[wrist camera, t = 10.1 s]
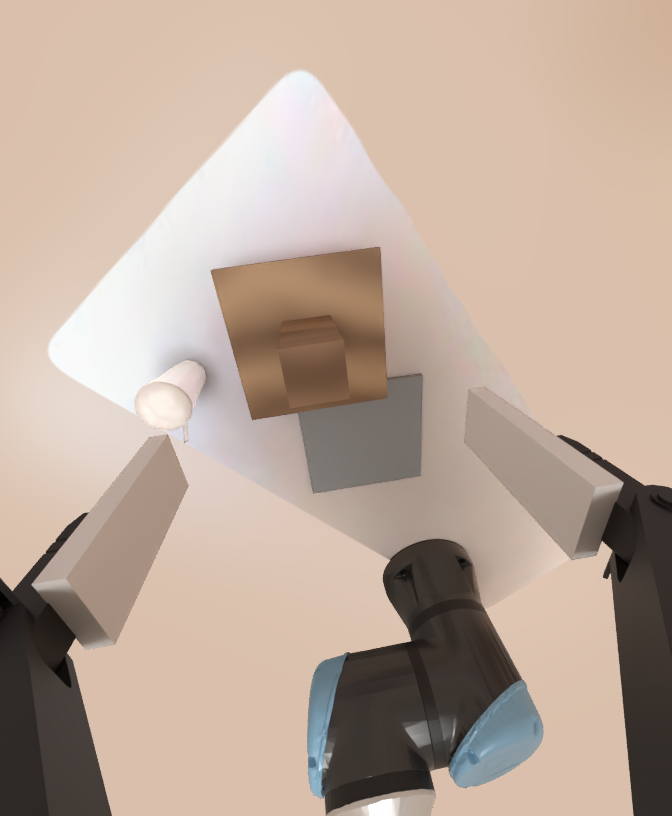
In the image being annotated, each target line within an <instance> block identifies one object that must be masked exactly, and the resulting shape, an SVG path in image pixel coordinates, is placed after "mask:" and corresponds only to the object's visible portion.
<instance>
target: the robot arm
mask: <svg viewBox="0 0 672 816" xmlns="http://www.w3.org/2000/svg"><path fill="white" fill-rule="evenodd" d="M464 442H465V443H466V444H467V445H468V446H469V447H470V449H471V450H472V451H473V452H474V453H475V454H476V455H477V456H478V457H479V458H480V460H481V461H482V462H483V463H484V464H485V465H486V466H487V467H488V468H489V469H490V471H491V472H492V473H493V474H494V475H495V476H496V477H497V478H498V479H499V480H500V482H501V483H502V484H503V485H504V486H505V487H506V488H507V489H508V490H509V492H510V493H511V494H512V495H513V496H514V497H515V498H516V499H517V500H518V501H519V503H520V504H521V505H522V506H523V507H524V508H525V509H526V510H527V511H528V512H529V514H530V515H531V516H532V517H533V518H534V519H535V520H536V521H537V522H538V523H539V525H540V526H541V527H542V528H543V529H544V530H545V531H546V532H547V533H548V534H549V536H550V537H551V538H552V539H553V540H554V541H555V542H556V543H557V544H558V545H559V547H560V548H561V549H562V550H563V551H564V552H565V553H566V554H567V555H568V556H569V558H570V559H571V560H575V559H581V558H586V557H591V556H596V555H597V552H598V550H599V547H600V544H601V542H602V541H603V542H604V543H605V544H606V545H607V546H608V547H609V548H611V549H612V550H613V551H612V554H611V556H610V559H609V561H608V564H607V566H606V569H605V571H604V575H603V578H606V579H608V577H609V574H610V573H611V579H612V589H613V600H614V611H615V621H616V632H617V643H618V653H619V664H620V675H621V685H622V696H623V707H624V717H625V728H626V737H627V749H628V760H629V771H630V781H631V792H632V803H633V813H634V816H672V488H669V487H665V486H657V485H647V486H644V485H643V484H641V483H640V482H638V481H637V480H635V479H634V478H632V477H631V476H629V475H628V474H626V473H625V472H623V471H621V470H620V469H619V468H617V467H616V466H614V465H613V464H611V463H610V462H608V461H607V460H603V459H602V457H600V456H599V455H597V454H596V453H594V452H591V450H590V449H588V448H587V447H585V446H584V445H582V444H581V443H579V442H577V441H575V440H572V439H570V438H567V437H565V436H562V435H559V436H555V435H554V434H553V433H551V432H550V431H548V430H547V429H545V428H544V427H543V426H541V425H540V424H538V423H537V422H535V421H534V420H532V419H531V418H530V417H528V416H527V415H525V414H524V413H522V412H521V411H519V410H518V409H517V408H515V407H514V406H512V405H511V404H509V403H508V402H506V401H505V400H504V399H502V398H501V397H499V396H498V395H496V394H495V393H493V392H492V391H491V390H489V389H488V388H486V387H481V388H474V389H469V392H468V403H467V415H466V427H465V439H464ZM187 488H188V483H187V481H186V478H185V476H184V473H183V471H182V468H181V466H180V463H179V461H178V458H177V456H176V454H175V451H174V449H173V446H172V444H171V441H170V439H169V436H168V435H162V436H154V437H149V438H148V440H147V441H146V442H145V443H144V445H143V446H142V447H141V448H140V450H139V451H138V452H137V454H136V455H135V456H134V457H133V458H132V460H131V461H130V462H129V463H128V465H127V466H126V467H125V468H124V470H123V471H122V472H121V473H120V475H119V476H118V477H117V478H116V480H115V481H114V482H113V483H112V485H111V486H110V487H109V488H108V490H107V491H106V492H105V493H104V494H103V496H102V497H101V498H100V499H99V501H98V502H97V503H96V505H95V506H94V507H93V508H92V510H91V511H90V512H88V513H84V514H82V515H81V516H79V517H78V518H77V519H76V520H74V521H73V522H72V523H71V524H69V525H68V526H67V527H66V528H65V529H64V531H63V532H62V533H61V534H60V535H59V537H58V538H57V539H56V542H55V543H53V544H52V545H51V546H50V547H49V549H48V550H47V551H46V554H44V555H43V556H42V557H41V558H40V559H39V560H38V562H37V563H36V564H35V565H34V566H33V568H32V569H31V570H30V571H29V572H28V573H27V575H26V576H25V577H24V578H23V579H22V581H21V582H20V583H19V584H18V585H17V587H16V588H15V589H14V590H13V591H11V589H10V588H9V587H8V586H7V585H6V584H5V583H4V582H3V580H2V579H1V578H0V816H112V814H111V811H110V806H109V803H108V799H107V795H106V791H105V787H104V783H103V779H102V775H101V771H100V767H99V763H98V759H97V755H96V751H95V747H94V743H93V739H92V735H91V731H90V727H89V724H88V720H87V715H86V711H85V708H84V704H83V700H82V696H81V692H80V688H79V684H78V680H77V676H76V672H75V668H74V664H73V660H72V659H71V658H70V656H69V655H68V654H67V652H68V650H69V648H70V646H71V645H72V643H73V641H74V640H75V638H76V639H77V640H78V641H79V643H80V644H81V645H82V646H83V647H84V648H85V650H90V649H95V648H100V647H106V646H111V645H115V643H116V641H117V639H118V637H119V635H120V633H121V631H122V629H123V626H124V624H125V622H126V620H127V618H128V615H129V613H130V611H131V609H132V607H133V605H134V603H135V600H136V598H137V596H138V594H139V592H140V589H141V587H142V585H143V583H144V581H145V579H146V577H147V574H148V572H149V570H150V568H151V566H152V564H153V561H154V559H155V557H156V555H157V553H158V550H159V548H160V546H161V544H162V542H163V540H164V538H165V535H166V533H167V531H168V529H169V527H170V525H171V522H172V520H173V518H174V516H175V514H176V511H177V509H178V507H179V505H180V503H181V501H182V499H183V497H184V494H185V492H186V490H187ZM383 583H384V587H385V590H386V594H387V596H388V598H389V600H390V602H391V603H392V605H393V606H394V608H395V610H396V611H397V613H398V614H399V616H400V617H401V619H402V620H403V622H404V624H405V625H406V627H407V628H408V631H409V634H410V637H411V642H407V643H401V644H396V645H391V646H386V647H381V648H376V649H371V650H366V651H361V652H355V653H349V652H348V653H345V654H344V655H342V656H338V657H335V658H331V659H328V660H324V661H323V662H321V663H320V664H319V665H318V667H317V668H316V670H315V672H314V675H313V679H312V684H311V690H310V698H309V709H308V731H307V732H308V734H307V752H308V755H309V757H308V775H309V784H310V788H311V791H312V793H313V794H314V795H315V796H318V797H319V798H324V796H325V806H326V816H430V815H431V811H432V808H433V805H434V802H435V798H436V794H435V790H434V786H433V782H432V779H431V774H430V771H432V770H435V769H440V768H444V767H448V768H449V773H450V776H451V777H452V778H453V780H454V782H455V783H456V784H457V786H459V787H463V788H467V787H471V786H479V785H482V784H485V783H487V782H489V781H492V780H494V779H496V778H498V777H500V776H502V775H504V774H505V773H507V772H509V771H511V770H512V769H514V768H516V767H517V766H518V765H520V764H521V763H523V761H525V760H526V759H528V758H529V757H530V756H531V755H532V754H533V753H534V752H535V751H536V749H537V748H538V747H539V745H540V743H541V741H542V738H543V724H542V720H541V718H540V715H539V713H538V711H537V709H536V707H535V705H534V703H533V701H532V699H531V697H530V695H529V693H528V691H527V685H526V683H525V682H524V680H522V678H521V676H520V675H519V672H518V671H517V669H516V667H515V665H514V663H513V661H512V659H511V658H510V656H509V654H508V652H507V650H506V648H505V646H504V645H503V643H502V641H501V639H500V637H499V635H498V633H497V632H496V630H495V628H494V626H493V624H492V622H491V620H490V618H489V617H488V615H487V613H486V611H485V609H484V607H483V605H482V603H481V599H480V594H479V589H478V584H477V579H476V574H475V569H474V566H473V564H472V562H471V560H470V558H469V556H468V554H467V553H466V551H465V550H464V549H463V548H462V547H461V546H460V545H458V544H456V543H453V542H450V541H445V540H431V541H425V542H421V543H418V544H415V545H412V546H410V547H408V548H406V549H404V550H403V551H401V552H400V553H398V554H397V555H396V556H395V557H393V558H392V559H391V561H390V562H389V563H388V565H387V566H386V568H385V570H384V574H383Z"/></svg>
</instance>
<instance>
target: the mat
mask: <svg viewBox="0 0 672 816" xmlns="http://www.w3.org/2000/svg"><path fill="white" fill-rule="evenodd" d="M422 378H423V375H422V374H415V375H408V376H401V377H394V378H387V394H388V398H385V399H379V400H373V401H367V402H361V403H354V404H348V405H342V406H336V407H330V408H324V409H317V410H311V411H305V412H299V419H300V424H301V430H302V435H303V441H304V446H305V451H306V457H307V462H308V468H309V473H310V479H311V484H312V490H313V494H314V493H320V492H326V491H332V490H338V489H344V488H350V487H356V486H362V485H368V484H374V483H380V482H387V481H393V480H399V479H405V478H411V477H417V476H420V473H421V425H422Z"/></svg>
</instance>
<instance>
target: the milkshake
mask: <svg viewBox="0 0 672 816" xmlns="http://www.w3.org/2000/svg"><path fill="white" fill-rule="evenodd" d="M205 380H206V373H205V369H204V368H203V367H202V366H201V365H200V364H199V363H198V362H195V361H190V360H185V361H183V362H180V363H178V364H176V365H175V366H173V367H172V368H171V369H169V370H168V371H166V372H165V373H164V374H162V375H161V376H159V377H158V378H156V379H155V380H153V381H151V382H150V383H148V384H147V385H145V386H143V387H142V388H141V389H140V390H139V391H138V393H137V395H136V397H135V411H136V413H137V415H138V416H139V418H140V419H141V420H142V421H143V422H145V423H146V424H147V425H148V426H149V427H151V428H154V429H160V430H167V431H170V430H176V429H178V428H180V427H182V426H183V431H184V443H185V442H186V441H188V430H187V422H188V421H189V419H190V418H191V415H192V412H193V410H194V407H195V404H196V401H197V398H198V396H199V394H200V391H201V389H202V387H203V385H204V382H205Z"/></svg>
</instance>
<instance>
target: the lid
mask: <svg viewBox="0 0 672 816" xmlns="http://www.w3.org/2000/svg"><path fill="white" fill-rule="evenodd" d="M210 271H211V274H212V278H213V281H214V285H215V288H216V292H217V296H218V299H219V303H220V306H221V310H222V314H223V317H224V321H225V324H226V328H227V332H228V335H229V339H230V342H231V346H232V349H233V353H234V357H235V360H236V364H237V367H238V371H239V375H240V378H241V382H242V385H243V389H244V392H245V396H246V400H247V403H248V407H249V410H250V414H251V418H252V420H256V419H262V418H268V417H274V416H280V415H286V414H293V413H299V412H305V411H311V410H317V409H324V408H330V407H336V406H342V405H348V404H354V403H361V402H367V401H373V400H379V399H385V398H388V394H387V374H386V353H385V333H384V312H383V292H382V272H381V251H380V247H374V248H367V249H359V250H352V251H345V252H337V253H330V254H323V255H316V256H308V257H301V258H294V259H286V260H279V261H272V262H264V263H257V264H250V265H242V266H235V267H228V268H220V269H214V270H210Z"/></svg>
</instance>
